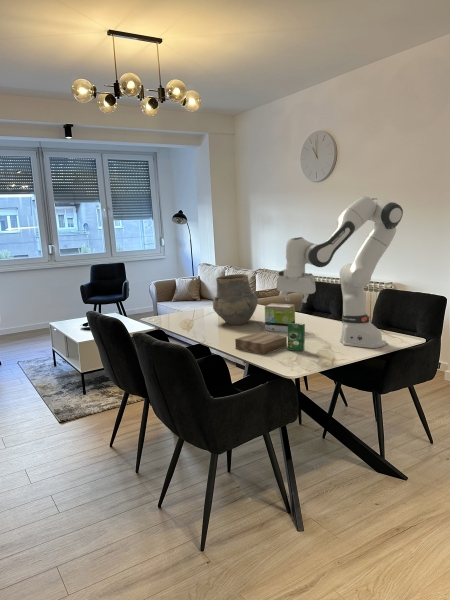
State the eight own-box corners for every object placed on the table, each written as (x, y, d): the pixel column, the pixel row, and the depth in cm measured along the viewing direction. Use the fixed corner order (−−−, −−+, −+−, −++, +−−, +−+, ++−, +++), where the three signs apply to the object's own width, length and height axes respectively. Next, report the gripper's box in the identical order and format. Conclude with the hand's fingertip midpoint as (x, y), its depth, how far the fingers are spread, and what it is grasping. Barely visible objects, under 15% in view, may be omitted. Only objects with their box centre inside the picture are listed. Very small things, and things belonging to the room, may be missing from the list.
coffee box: (305, 350, 218) (305, 323, 216) (303, 351, 215) (303, 324, 213) (289, 348, 221) (288, 322, 219) (287, 350, 219) (287, 323, 217)
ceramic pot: (267, 322, 284) (266, 274, 280) (230, 329, 269) (228, 279, 264) (240, 316, 308) (239, 272, 303) (205, 322, 292) (202, 276, 287)
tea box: (264, 331, 261) (264, 305, 259) (271, 327, 270) (270, 302, 268) (289, 332, 254) (289, 306, 252) (295, 329, 263) (295, 303, 261)
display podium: (286, 346, 226) (286, 336, 225) (263, 354, 213) (263, 344, 213) (259, 341, 239) (258, 331, 238) (235, 348, 226) (235, 338, 225)
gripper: (318, 272, 207) (318, 302, 209) (282, 271, 222) (282, 299, 224) (310, 274, 203) (310, 304, 205) (274, 272, 217) (274, 300, 219)
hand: (295, 301), depth 214 cm, fingers open, 8 cm apart
